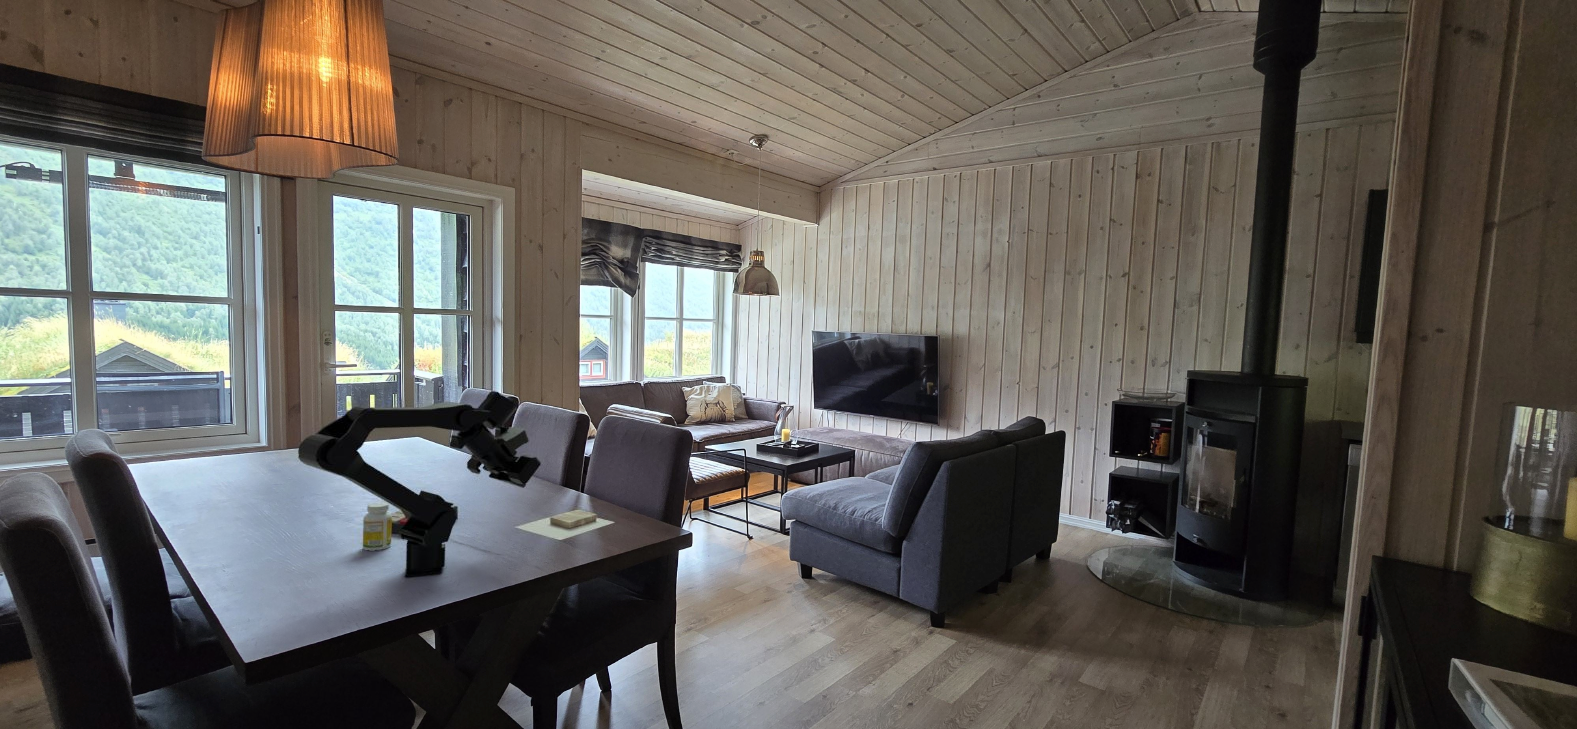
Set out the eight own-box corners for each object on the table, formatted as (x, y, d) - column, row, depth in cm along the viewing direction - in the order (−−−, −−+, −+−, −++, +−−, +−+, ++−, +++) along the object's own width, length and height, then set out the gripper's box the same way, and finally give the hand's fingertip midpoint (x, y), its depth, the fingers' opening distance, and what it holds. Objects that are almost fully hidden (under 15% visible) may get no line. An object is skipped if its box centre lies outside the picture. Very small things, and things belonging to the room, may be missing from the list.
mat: (560, 542, 155) (560, 540, 155) (514, 529, 163) (514, 527, 163) (614, 524, 171) (614, 522, 171) (570, 513, 179) (570, 511, 178)
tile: (570, 522, 163) (596, 514, 171) (550, 517, 167) (577, 509, 175) (569, 529, 163) (596, 520, 171) (549, 523, 167) (577, 515, 175)
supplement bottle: (372, 553, 143) (372, 509, 142) (357, 548, 145) (358, 505, 144) (396, 546, 147) (397, 503, 147) (381, 541, 150) (382, 500, 149)
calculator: (375, 518, 156) (419, 499, 170) (375, 536, 156) (419, 515, 171) (417, 522, 154) (458, 503, 169) (417, 540, 154) (458, 519, 169)
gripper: (535, 421, 145) (572, 464, 155) (480, 412, 154) (518, 453, 164) (503, 462, 138) (543, 503, 148) (447, 450, 147) (489, 490, 157)
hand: (523, 486), depth 155 cm, fingers closed
